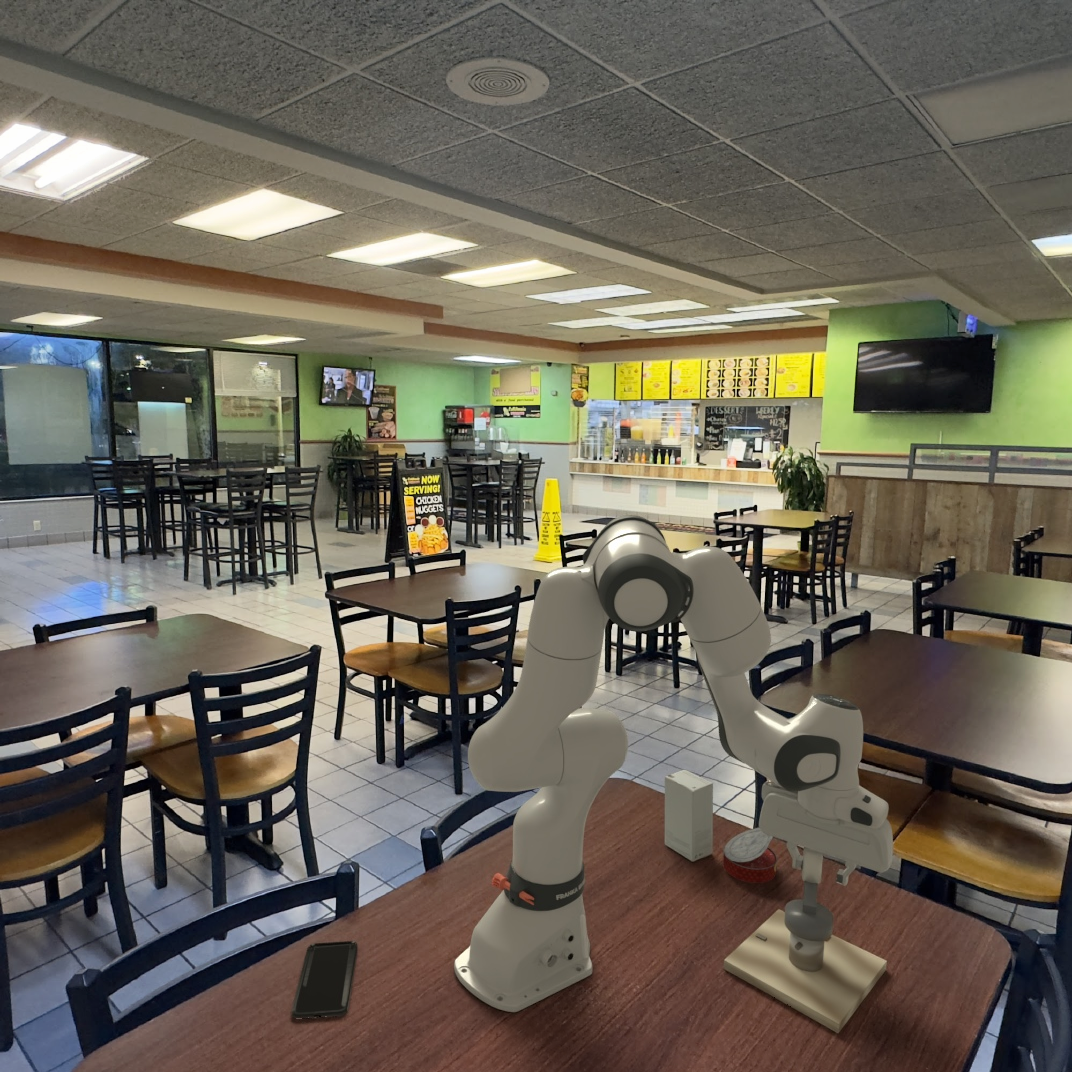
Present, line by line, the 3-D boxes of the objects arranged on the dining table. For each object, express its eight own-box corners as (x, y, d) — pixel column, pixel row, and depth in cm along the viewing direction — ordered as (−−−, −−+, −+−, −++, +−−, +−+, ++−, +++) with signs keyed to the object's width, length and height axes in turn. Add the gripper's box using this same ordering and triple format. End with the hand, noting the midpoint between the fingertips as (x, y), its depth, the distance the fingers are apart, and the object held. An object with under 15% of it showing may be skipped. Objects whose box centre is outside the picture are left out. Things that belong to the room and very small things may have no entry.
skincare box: (713, 854, 150) (716, 783, 148) (691, 863, 147) (694, 791, 145) (682, 835, 157) (686, 767, 155) (661, 843, 154) (664, 774, 152)
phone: (358, 940, 122) (347, 1010, 108) (358, 947, 123) (347, 1017, 108) (307, 943, 121) (289, 1014, 107) (307, 950, 122) (289, 1022, 107)
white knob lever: (783, 934, 116) (786, 884, 114) (788, 887, 128) (791, 841, 126) (832, 946, 113) (836, 895, 112) (832, 896, 125) (836, 850, 124)
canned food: (759, 907, 142) (753, 875, 137) (715, 877, 149) (707, 846, 144) (793, 863, 147) (787, 830, 142) (748, 836, 154) (741, 804, 149)
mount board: (838, 1033, 106) (841, 988, 105) (723, 968, 118) (726, 927, 117) (886, 969, 119) (889, 928, 118) (778, 917, 131) (780, 879, 130)
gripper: (756, 782, 125) (750, 861, 127) (891, 823, 113) (882, 908, 115) (769, 769, 130) (763, 845, 132) (899, 806, 118) (890, 889, 120)
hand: (819, 875), depth 123 cm, fingers open, 5 cm apart
